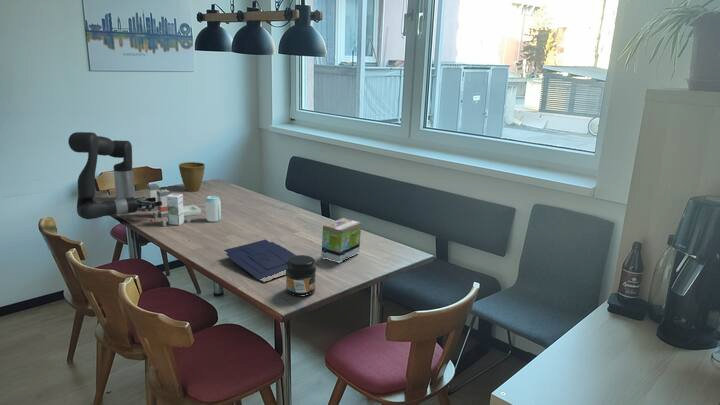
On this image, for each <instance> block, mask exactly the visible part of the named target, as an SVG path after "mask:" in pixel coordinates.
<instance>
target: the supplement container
mask: <svg viewBox="0 0 720 405" xmlns="http://www.w3.org/2000/svg"><path fill="white" fill-rule="evenodd" d="M295 255H296V254H295ZM315 265H316V259H315V258H314V257H312V256H310V255H307V254H306V255H305V254H297V255H296V256H292V257H290V258H289V259H288V266H287V268H286V275H285V276H286V278H285V279H286V281H285V282H286V283H285V284H286V285H285V286H286V287H285V289H286V292H287V293H288V292H289V293H291V294H294V295H306V294H310V293H312V292H313V293H315V291H316V278H317V276H316V272H317V268H316V266H315ZM289 293H288V294H289ZM313 293H312V294H313ZM291 294H290V295H291ZM294 295H293V296H294ZM310 295H311V294H310Z"/></svg>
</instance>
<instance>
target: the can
mask: <svg viewBox="0 0 720 405" xmlns="http://www.w3.org/2000/svg"><path fill="white" fill-rule="evenodd" d="M221 209H222V208H221V199H220V197H219V196H217V195H209V196H207V197H206V198H205V220H206V221H208V222H210V223H217V222H219V221H220V220H222V215H221V211H222V210H221Z"/></svg>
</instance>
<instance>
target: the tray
mask: <svg viewBox="0 0 720 405" xmlns="http://www.w3.org/2000/svg"><path fill="white" fill-rule="evenodd" d="M183 213H184V218H186V216H189V217H192V216H199V215H202V209H201V208H199V207H197V206H196V205H194V204H192V205H191V204H190V205H183Z"/></svg>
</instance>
